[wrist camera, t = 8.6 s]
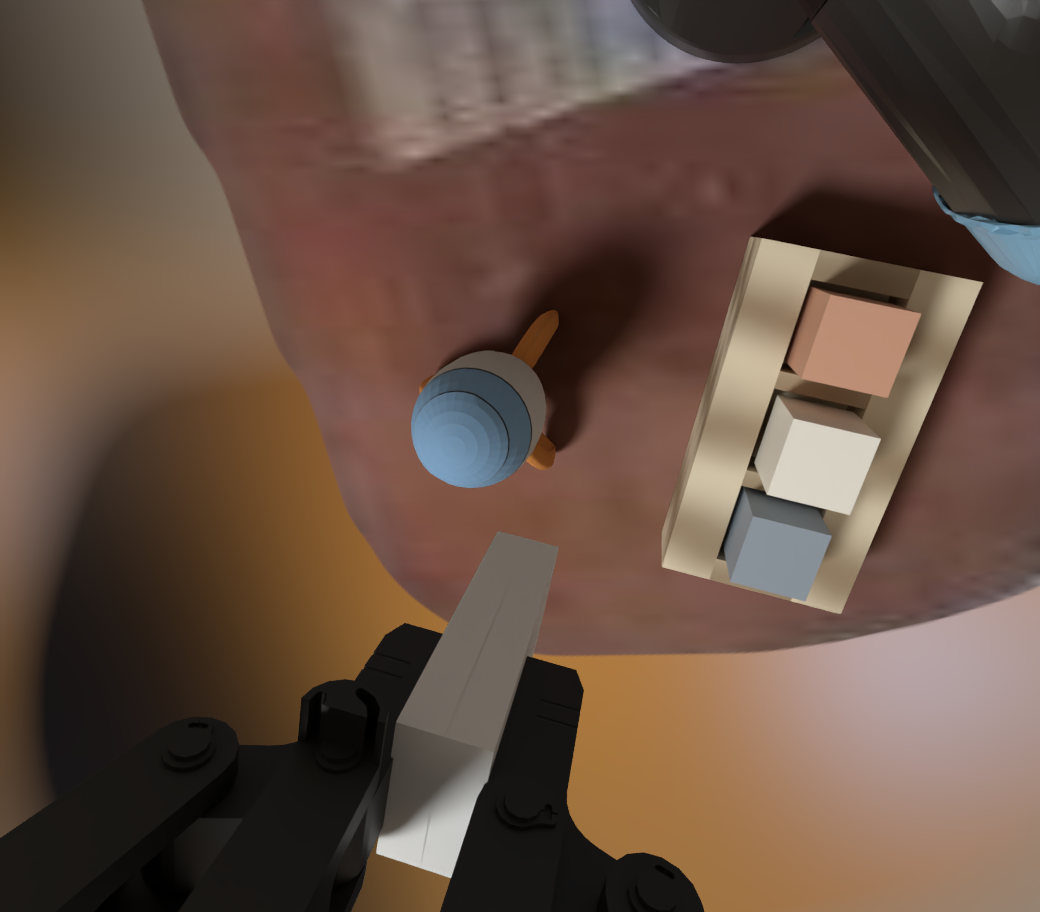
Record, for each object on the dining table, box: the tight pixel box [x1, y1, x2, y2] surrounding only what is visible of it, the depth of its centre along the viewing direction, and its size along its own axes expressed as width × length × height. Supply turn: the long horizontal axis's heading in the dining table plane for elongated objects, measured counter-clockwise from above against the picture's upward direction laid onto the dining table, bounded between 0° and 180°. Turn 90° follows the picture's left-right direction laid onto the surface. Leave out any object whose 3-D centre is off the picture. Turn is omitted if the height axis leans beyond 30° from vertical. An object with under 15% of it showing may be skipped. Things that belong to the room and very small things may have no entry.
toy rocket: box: [411, 310, 559, 488], centre depth 40 cm, size 10×11×15 cm
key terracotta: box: [784, 286, 921, 398], centre depth 35 cm, size 4×4×5 cm
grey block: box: [723, 486, 832, 601], centre depth 39 cm, size 4×4×5 cm
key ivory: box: [754, 395, 881, 515], centre depth 36 cm, size 4×4×5 cm
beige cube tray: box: [662, 237, 983, 614], centre depth 40 cm, size 20×11×5 cm, turn 169°
